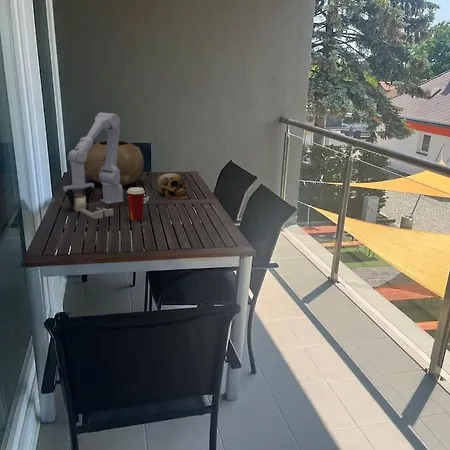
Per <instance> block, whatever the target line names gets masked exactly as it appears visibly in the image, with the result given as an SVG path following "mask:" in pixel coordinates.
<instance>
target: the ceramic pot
mask: <svg viewBox="0 0 450 450" xmlns="http://www.w3.org/2000/svg"><path fill="white" fill-rule="evenodd" d="M106 148H107V139H105V140H103V139H102V140H99V141H97V142H95V143H93V146H92V147H91V149H90V150H89V152H88V154H87V159H86V161H85V162H84V169H85V170H84V171H85V177H87V176H89V177H91V179H93V180H94V181H95V182H98V183H99V184H101V181H100V180H99V173H100V171H101V167H102V166H104V165H105V158H106ZM144 163H145V160H144V155H143V154H142V151H141V148H140V147H139V146H136V145H135V144H133V143H131V142H129V141H127V140H122V139H119V142H118V152H117V161H116V167H117V168H118V169H119V170H120V182H119V183H120V184H121V186H122V187H124V186H128V185H130V184H132V183H134V182H136V181H137V180H138V179H140V177H141V175H142V173H143V172H144Z"/></svg>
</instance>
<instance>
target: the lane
mask: <svg viewBox="0 0 450 450" xmlns="http://www.w3.org/2000/svg"><path fill="white" fill-rule="evenodd" d="M103 210H104V212H103V211H96V212H93V213H91V212H89V210H88V209H86V210H85V209H80V211H79V212H80V213H81V214H84V215H86V216H87V217H90V218H92V219H94V220H96V219H102V218H104V217H105V218H107V217H113V216H114V208H108V209H107V208H105V207H103Z"/></svg>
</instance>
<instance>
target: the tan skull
mask: <svg viewBox="0 0 450 450" xmlns="http://www.w3.org/2000/svg"><path fill="white" fill-rule="evenodd" d="M156 185H157V187H156V188H157V190H158V192H159V193H160V194H161V195H163V196H165V198H166V199H170V200H175V201H185V200H188V199H189V197H188V195H187V190H188V186H187V185H186V183H185V180H184V178H182V177H181V176H180V174H178V173H175V172H174V173H173V172H172V173H171V172H170V173H164V174H161V175H160V176H159V177H158V179H157V182H156Z"/></svg>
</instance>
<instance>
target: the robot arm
mask: <svg viewBox="0 0 450 450" xmlns="http://www.w3.org/2000/svg"><path fill="white" fill-rule="evenodd" d="M120 123H121V119H120V117H119V116H118V114H116V113H110V112H98V113H97V115H96V116H95V117H94V123H93V124H92V126H91V128H90V129H89V131H88V133H87V134H86V136H83V137H81V138H80V139H79V142H77V143H78V144H77V145H76V146H75V147H74V149H72V150H70V151H69V152H68V155H67V159H68V161H69V163H70V166H71V169H70V170H71V179H72V180H71V183H72V184H70V185H66V186H62V188H63V189H62V190H63V192H64V193H65V195H66V196H67V198H68V200H69V203H70V206H73V207H74V195H75V192H74V191H77V190H82V189H83V191H84V194H85V196H86V204H90V199H91V196H92V194H93V192H94V188H95V183H93V182H88V183H86V175H85V171H86V170H85V161H86V159H87V154H88V152H89V150H90V149H91V147H92V146H93V145H94V140H95V139H96V137H97V136H98V135H99V134H100V133H101V131H103V130H105V131H106V132H107V139H106V140H107V148H106V158H105V165H104V166H102V167H101V171H100V173H99V180H100V181H101V183H100V184H101V185H102V199H99V202H102V203H104V204H106V205H110V204H114V203H115V204H116V203H120V202H121V203H122V202H124V201H125V200H124V197H123V196H124V194H123V193H124V191H123V186H121V184H120V183H119V182H120V170H119V169H118V168H117V167H116V161H117V152H118V142H119V140H120V134H121V132H120V130H121V129H120V125H121V124H120Z"/></svg>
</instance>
